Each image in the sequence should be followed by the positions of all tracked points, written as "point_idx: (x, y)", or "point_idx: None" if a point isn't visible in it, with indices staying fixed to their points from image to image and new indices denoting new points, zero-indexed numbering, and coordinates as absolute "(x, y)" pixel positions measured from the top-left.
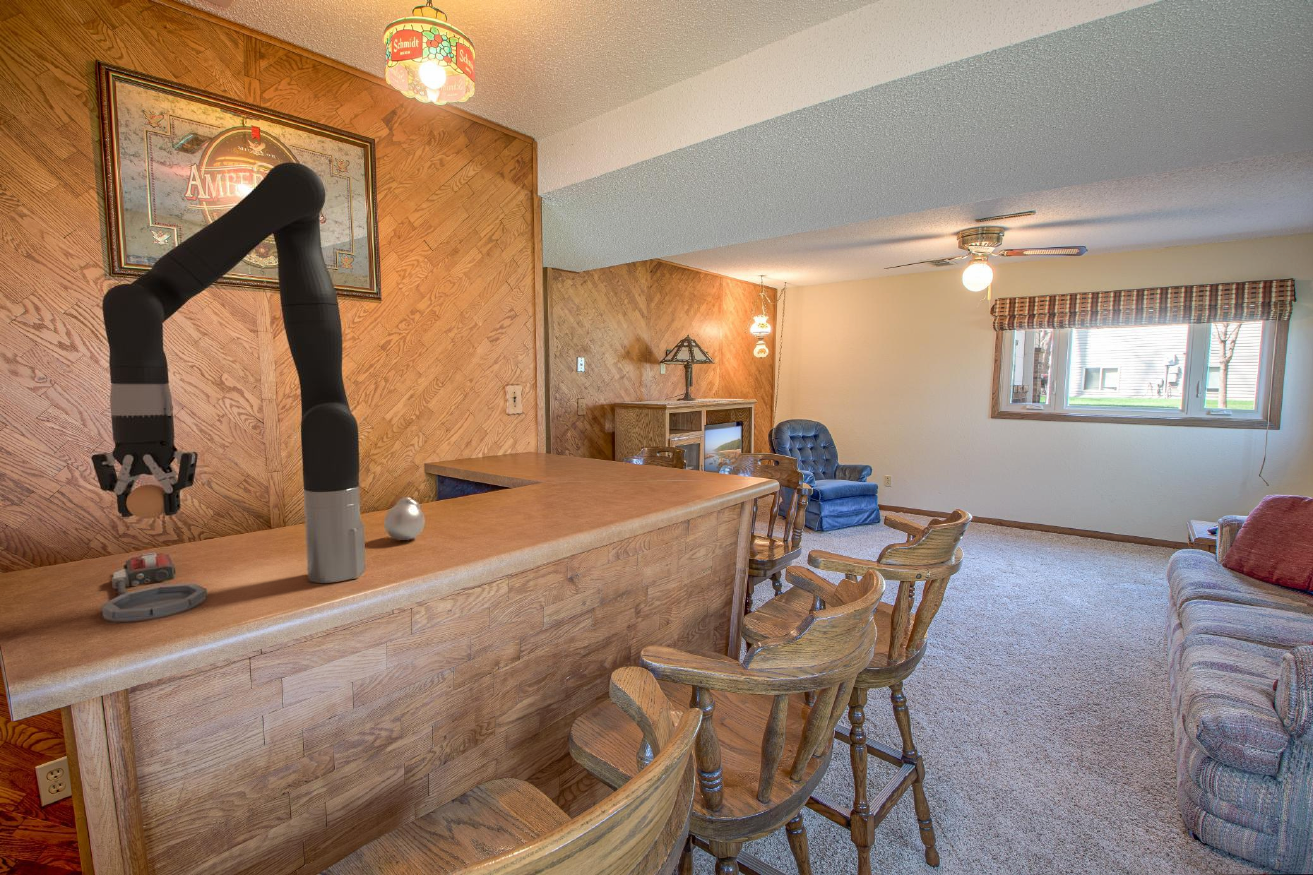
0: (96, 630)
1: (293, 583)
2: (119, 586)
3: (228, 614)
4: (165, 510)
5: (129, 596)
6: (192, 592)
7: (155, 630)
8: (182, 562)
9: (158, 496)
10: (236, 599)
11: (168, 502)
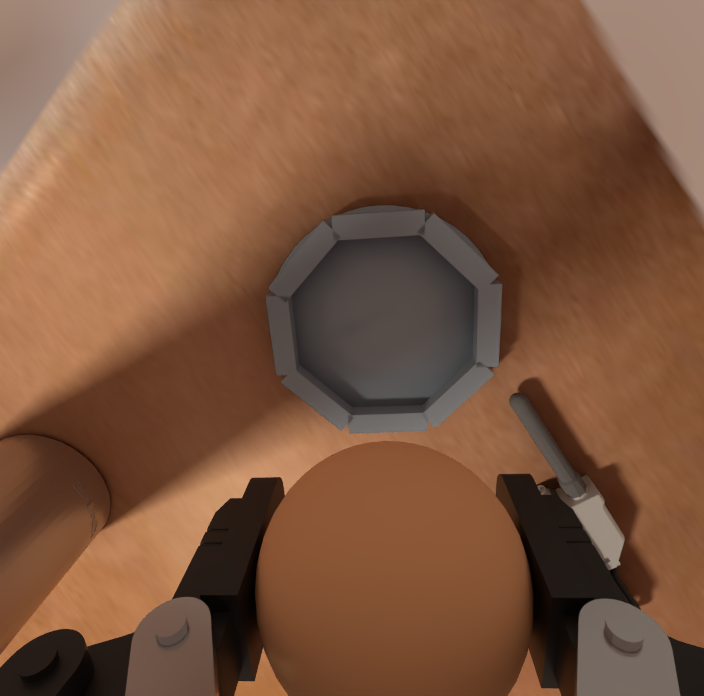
0: (435, 147)
1: (122, 449)
2: (551, 444)
3: (140, 230)
4: (268, 495)
5: (474, 361)
6: (327, 388)
7: (264, 124)
8: None
9: (269, 566)
10: (196, 347)
11: (226, 534)
